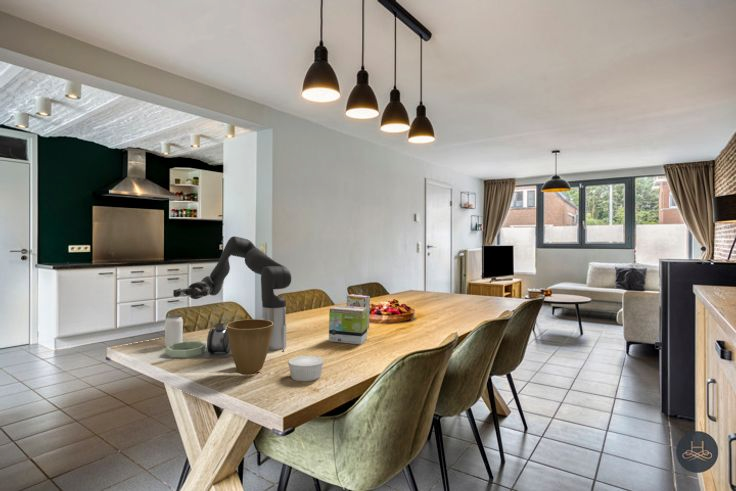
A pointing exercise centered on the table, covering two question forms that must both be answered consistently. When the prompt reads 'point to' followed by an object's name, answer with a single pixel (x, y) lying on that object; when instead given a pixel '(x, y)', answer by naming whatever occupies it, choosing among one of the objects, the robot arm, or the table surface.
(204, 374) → the table surface
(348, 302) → the candy bar box
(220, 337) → the cylinder
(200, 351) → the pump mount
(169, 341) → the can
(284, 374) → the table surface
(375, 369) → the table surface
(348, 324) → the tea box
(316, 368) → the ramekin
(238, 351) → the plant pot
